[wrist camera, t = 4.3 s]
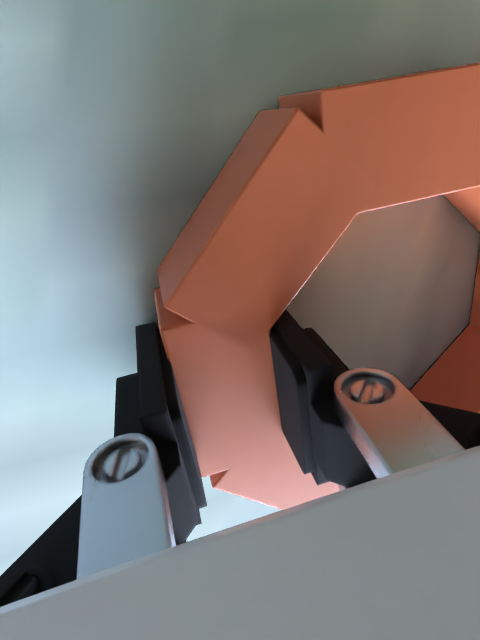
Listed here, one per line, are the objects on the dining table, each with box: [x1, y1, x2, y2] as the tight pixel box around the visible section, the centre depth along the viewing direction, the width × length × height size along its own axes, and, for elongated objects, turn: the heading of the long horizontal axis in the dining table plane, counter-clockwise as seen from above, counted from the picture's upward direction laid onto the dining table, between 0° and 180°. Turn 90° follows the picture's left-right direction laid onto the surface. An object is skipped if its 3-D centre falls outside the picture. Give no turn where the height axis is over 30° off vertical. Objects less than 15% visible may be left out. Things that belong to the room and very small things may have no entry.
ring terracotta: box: [154, 62, 480, 510], centre depth 12 cm, size 12×12×2 cm
